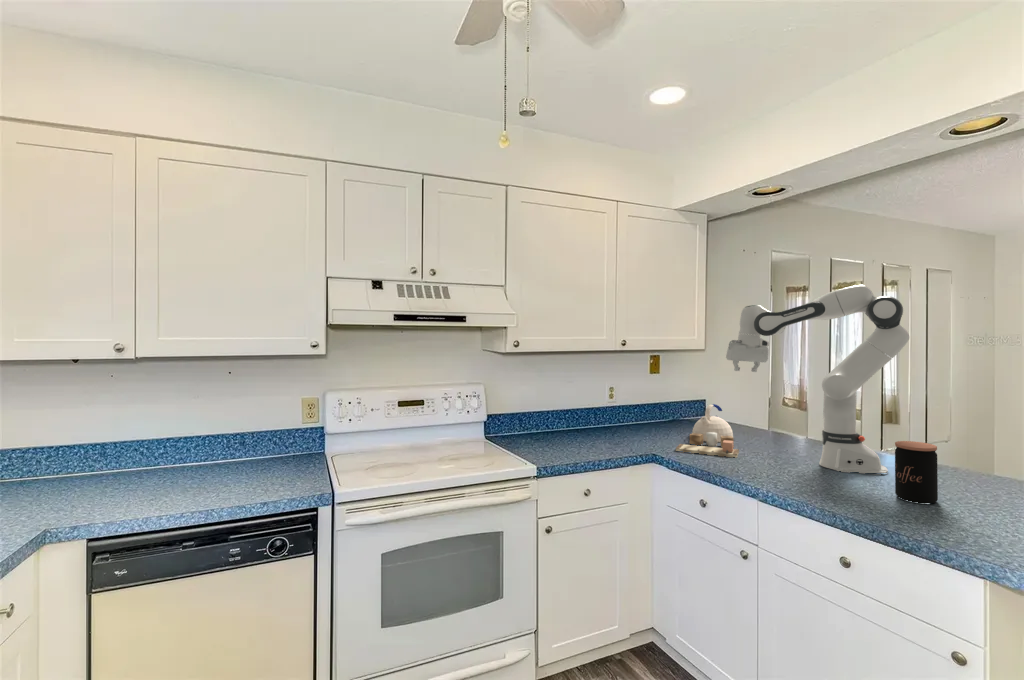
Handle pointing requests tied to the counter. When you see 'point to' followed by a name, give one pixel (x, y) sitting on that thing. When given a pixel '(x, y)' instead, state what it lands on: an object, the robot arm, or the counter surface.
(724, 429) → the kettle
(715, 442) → the grey cylinder
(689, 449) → the counter board
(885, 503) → the counter surface
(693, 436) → the walnut block
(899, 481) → the coffee jar
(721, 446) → the walnut block
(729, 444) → the counter marker
